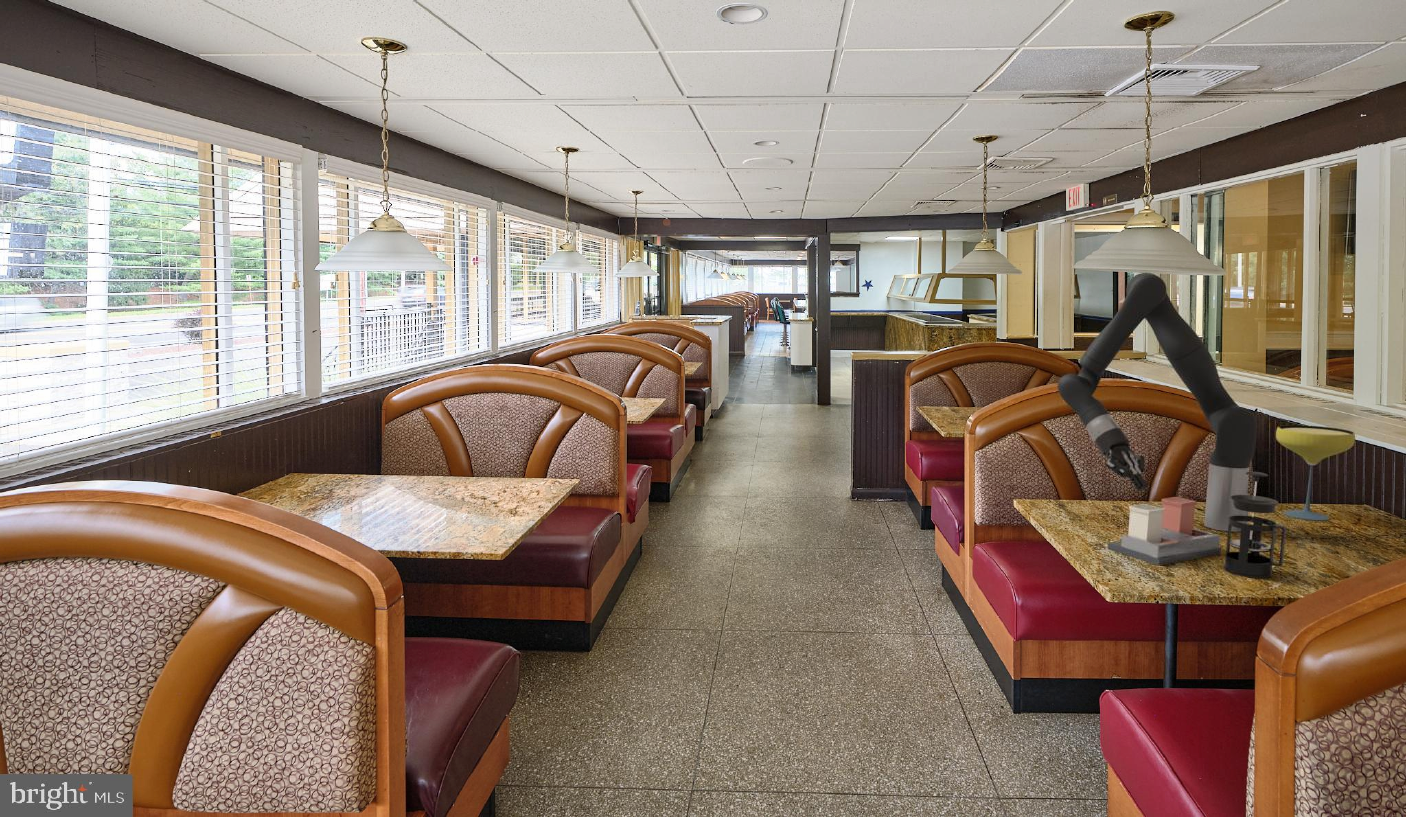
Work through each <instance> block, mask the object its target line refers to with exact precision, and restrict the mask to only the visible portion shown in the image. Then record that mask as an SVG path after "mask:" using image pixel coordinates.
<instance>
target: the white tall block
mask: <svg viewBox="0 0 1406 817" xmlns="http://www.w3.org/2000/svg"><path fill="white" fill-rule="evenodd" d="M1128 510H1129V519H1128V520H1129V521H1128V522H1129V523H1128V533H1127V534H1128V536H1132V537H1135V538H1138V539H1142V540H1145V541H1148V542H1152V543H1155V544H1156V543H1161V531H1162V519H1163V512H1164V510H1165V509H1163V508H1162V507H1158V506H1155V505H1150V504H1146V503H1140V504H1135V505H1134V504H1133V505H1128Z"/></svg>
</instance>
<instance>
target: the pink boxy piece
mask: <svg viewBox="0 0 1406 817" xmlns="http://www.w3.org/2000/svg"><path fill="white" fill-rule="evenodd" d="M1161 503H1162V507H1161V508H1163V509H1165V510H1164V512H1163V519H1162V528H1165V529H1169V530H1172V531H1176V532H1180V533H1183V534H1187V535H1191V536H1192V533H1193V528H1194V519H1195V508H1196V507H1195V506H1196V505H1197V501H1195V500H1191V499H1188V498H1182V497H1180V496H1179V497H1178V496H1173V497H1172V496H1171V497H1165V498H1161Z"/></svg>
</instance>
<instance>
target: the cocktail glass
mask: <svg viewBox="0 0 1406 817" xmlns="http://www.w3.org/2000/svg"><path fill="white" fill-rule="evenodd" d="M1275 438H1276V441H1277V442H1278V443H1279V444H1280V445H1282V446H1283V447H1284V448H1286V449H1288V450H1290V451H1291V452H1294V453H1295V454H1297V455H1298V456H1300V457H1302V459H1303V460H1304V461H1305V463H1306V464H1308V466H1310V467H1309V476H1308V485H1307V493H1306V500H1305V501H1306V502H1305V505H1304V508H1303V509H1301V510H1300V509H1299V510H1298V509H1297V510H1295V509H1294V510H1289V509H1288V510H1285V511H1284V512H1283V514H1284V515H1285V516H1287V517H1290V518H1294V519H1298V520H1303V521H1313V522H1326V521H1329V520H1330V519H1331V517H1330V516H1328V515H1325V514H1323V513H1319V512H1314V511H1312V510H1311V489H1312V479H1313V478H1312V477H1313V470H1314V469H1313V468H1314V466H1315V465H1318V464H1319V463H1320V462H1321V461H1322V460H1324V459H1326V458H1328V457H1332V456H1335V455H1338V454H1342V453H1344V452H1346V451H1348V450H1350V449H1351V448H1352V447H1353V446H1354V445H1355V442H1356V434H1355V432H1354V431H1351V430H1347V429H1344V428H1337V427H1327V426H1317V425H1303V424H1300V425H1299V424H1296V425H1295V424H1289V425H1279V426H1277V428H1276V432H1275Z"/></svg>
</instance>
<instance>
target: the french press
mask: <svg viewBox="0 0 1406 817" xmlns="http://www.w3.org/2000/svg"><path fill="white" fill-rule="evenodd" d="M1246 474H1247V475H1249V476H1251V477H1253V482H1254V489H1253V495H1252V494H1251V495H1250V494H1249V495H1234V496H1231V499H1232V500H1233V504H1234V506H1235V508H1236V509H1238V510H1242V511H1247V512H1248V513H1251V515H1248V516H1242V515H1238V516H1231V517H1229V525H1228V531H1227V537H1226V538H1227V539H1226V547H1225V548H1226V551H1225V562H1224V565H1223V570H1224V571H1225V572H1227V573H1229V574H1232V575H1236V576H1240V577H1243V576H1245V577H1244V578H1250V579H1268V577H1270V576H1272V577H1273V572H1272V570H1273V566H1275V567H1281V566H1282V565H1283V563H1284V554H1285V544H1286V534H1287V527H1286V526H1285V525H1280V524H1277V522H1276V521H1273V519H1272V520H1271V519H1268V518H1265V517H1261V516H1260V517H1259V516H1254V515H1255V513H1256V514H1273V513H1275V512H1276V506H1277V505H1278V504H1279V501H1278V500H1276V499H1274V498H1269V497H1265V496H1258V495H1256V494H1257V488H1258V487H1257V486H1258V483H1259V480H1260V477H1261V478H1263V477H1265V478H1266V477H1268V476H1269V475H1268V474H1267V473H1264V472H1259V471H1249V472H1247V473H1246ZM1236 521H1247V524H1244V523H1240V522H1236ZM1249 523H1250V524H1249ZM1232 526H1233V527H1236V528H1240V529H1241V531H1240V536H1239V537H1240V538H1237V539H1236V538H1235V539H1231V538H1232V531H1231V528H1232ZM1277 529H1279V530H1281V541H1280V550H1279V551H1280V552H1279V560H1278V562H1277V561H1276V562H1275V561H1274V560H1273V559H1274V549H1275V540H1276V539H1275V538H1276V530H1277ZM1263 532H1266V533H1269V532H1271V542H1270V543H1271V544H1268V543H1266V542H1262V541H1261V540H1262V533H1263ZM1231 547H1232V548H1234V549H1237V550H1238V551H1230V549H1231ZM1269 552H1270V553H1269ZM1260 553H1269V557H1268V556H1265V555H1262V554H1260ZM1270 578H1271V577H1270Z"/></svg>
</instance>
